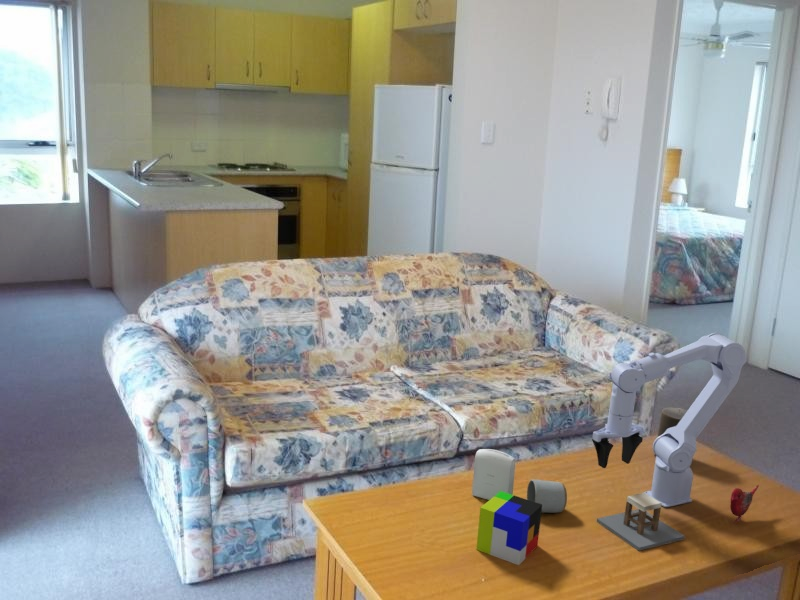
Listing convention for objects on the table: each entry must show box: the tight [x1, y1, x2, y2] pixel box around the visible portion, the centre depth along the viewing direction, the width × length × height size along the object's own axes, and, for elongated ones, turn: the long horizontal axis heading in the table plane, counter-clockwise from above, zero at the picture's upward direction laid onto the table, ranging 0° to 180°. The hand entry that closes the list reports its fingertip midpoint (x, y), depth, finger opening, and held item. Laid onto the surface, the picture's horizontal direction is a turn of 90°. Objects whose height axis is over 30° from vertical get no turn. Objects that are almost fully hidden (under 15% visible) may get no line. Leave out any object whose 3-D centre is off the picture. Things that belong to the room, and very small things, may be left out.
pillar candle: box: [654, 407, 688, 459], centre depth 233 cm, size 10×10×15 cm
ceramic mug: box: [526, 478, 568, 514], centre depth 200 cm, size 11×8×8 cm
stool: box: [623, 492, 662, 535], centre depth 191 cm, size 5×5×7 cm
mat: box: [596, 508, 686, 552], centre depth 192 cm, size 14×14×1 cm
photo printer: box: [471, 448, 516, 501], centre depth 202 cm, size 10×4×12 cm, turn 63°
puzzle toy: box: [475, 491, 542, 566], centre depth 180 cm, size 10×10×10 cm
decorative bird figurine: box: [729, 484, 759, 524], centre depth 200 cm, size 3×18×10 cm, turn 137°
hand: (613, 464), depth 205 cm, fingers open, 7 cm apart
